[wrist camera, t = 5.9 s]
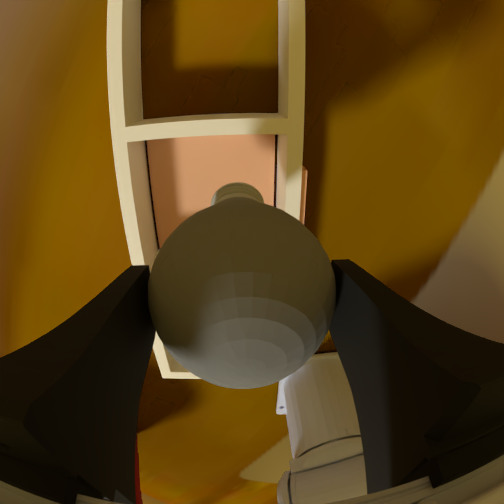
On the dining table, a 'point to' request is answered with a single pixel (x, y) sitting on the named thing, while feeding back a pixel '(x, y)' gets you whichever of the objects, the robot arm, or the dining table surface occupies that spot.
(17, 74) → the dining table surface
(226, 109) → the dining table surface
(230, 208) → the light bulb
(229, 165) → the rack
